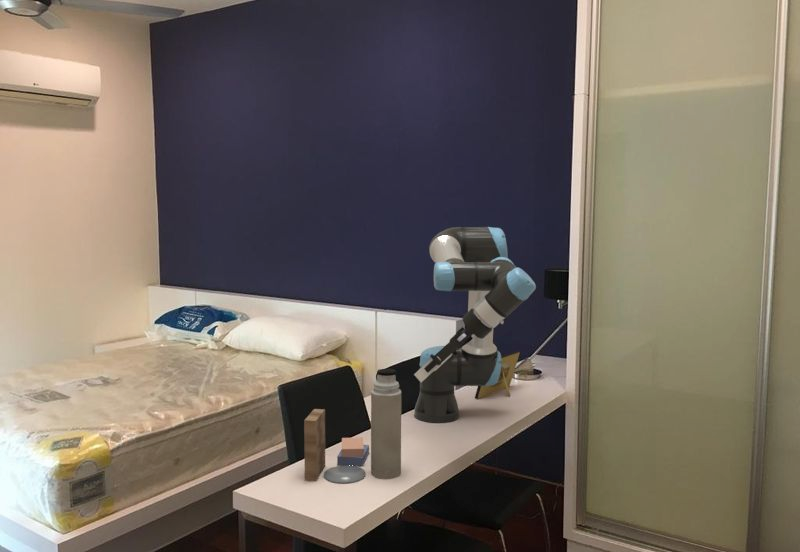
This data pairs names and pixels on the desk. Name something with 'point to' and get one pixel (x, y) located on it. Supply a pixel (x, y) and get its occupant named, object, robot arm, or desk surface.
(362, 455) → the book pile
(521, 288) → the robot arm
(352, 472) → the coaster
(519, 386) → the desk surface
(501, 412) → the desk surface
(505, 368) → the picture frame
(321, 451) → the bookend
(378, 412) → the thermos bottle
